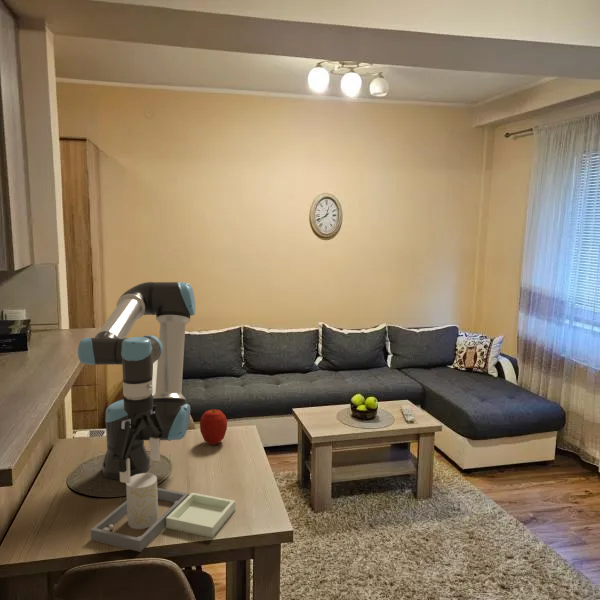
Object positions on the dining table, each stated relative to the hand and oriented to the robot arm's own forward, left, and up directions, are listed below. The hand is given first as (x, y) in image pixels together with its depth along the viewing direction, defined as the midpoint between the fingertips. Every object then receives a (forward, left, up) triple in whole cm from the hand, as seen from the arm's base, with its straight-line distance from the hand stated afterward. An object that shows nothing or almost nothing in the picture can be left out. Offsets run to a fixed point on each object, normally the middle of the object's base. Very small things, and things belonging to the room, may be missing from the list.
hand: (140, 470), depth 142 cm
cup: (0, 0, -15) cm, 15 cm away
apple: (-5, +52, -15) cm, 55 cm away
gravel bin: (0, 0, -15) cm, 15 cm away
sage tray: (+15, +6, -15) cm, 22 cm away
